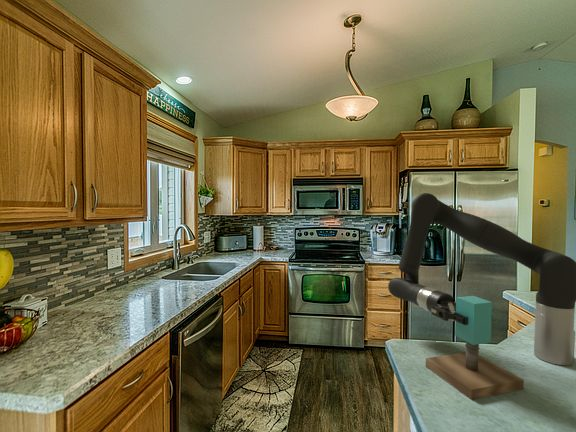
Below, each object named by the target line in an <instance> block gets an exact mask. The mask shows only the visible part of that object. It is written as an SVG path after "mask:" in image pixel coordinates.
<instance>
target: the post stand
mask: <svg viewBox="0 0 576 432" xmlns="http://www.w3.org/2000/svg"><path fill="white" fill-rule="evenodd" d="M479 351H480V344H476V345H472V344H470V343H468V342H466V341H465V351H464V352H457V353H451V354H445V355H444V354H443V355H438V356H432V357H426V358H425V368H427V369H428V370H429V371H431V372H432V373H434V375H435V374H436V375H437V376H438V377H440V378H441V379H442V380H443V381H444V382H446V383H447V384H449V385H450V386H452V387H453V388H455V389H456V390H457V391H458V392H460V393H461V394H463V395H464V396H465V395H466V396H465V397H467V398H468V397H469V398H468V399H469V400H477V399H480V398H487V397H491V396H496V395H500V394H505V393H506V394H507V393H510V392H514V391H519V390H524V381H525V379H524V378H521V377H520V376H518V375H516V374H514V373H512V372H511V371H509V370H507V369H506V368H504V367H502V366H500V365H498V364H496V363H494V362H492V361H491V360H489V359H487V358H485V357H483V356H482V355H480V354H479ZM476 398H477V399H476Z"/></svg>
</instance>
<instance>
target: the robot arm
mask: <svg viewBox="0 0 576 432" xmlns="http://www.w3.org/2000/svg"><path fill="white" fill-rule="evenodd" d="M432 223H434V224H437V225H439V226H441V227H444V228H446V229H448V230H449V231H451V232H452V233H454V234H456V235H457V236H459V237H460V238H462V239H464V240H466V241H467V242H469V243H471V244H473V245H475V246H477V247H479V248H481V249H483V250H484V251H485V250H486V251H487V252H489V253H493V254H495V255H499V256H501V257H505V258H507V259H511V260H513V261H516V262H517V263H519V264H520V265H523V266H524V267H526V268H528V269H530V270H531V271H532V272H534V273H536V274H537V275H539V283H538V285H539V287H538V290H537V292H536V293H535V310H534V311H535V312H534V313H535V314H534V315H535V316H534V317H535V318H534V337H533V339H534V342H533V355H534V356H535V357H536V358H538V359H540V360H542V361H544V362H546V363H550V364H554V365H558V366H571V365H572V364H573V363H574V362H573V361H575V348H576V347H575V342H576V331H575V311H576V308H575V307H576V261H575V260H574V259H573V258H572V257H569V256H567V255H565V254H563V253H560V252H557V251H553V250H550V249H547V248H544V247H542V246H538V245H536V244H534V243H531V242H528V241H527V240H526V239H524V238H522V237H520V236H519V235H517V234H515V233H513V232H511V231H510V230H508V229H506V228H504V227H503V226H501V225H499V224H497V223H494V222H492V221H491V220H487V219H485V218H482V217H480V216H478V215H474V214H472V213H468V212H464V211H461V210H458V209H456V208H453V207H452V206H449V205H448V204H446V203H444V202H443V201H441V200H439V199H438V198H437V197H436V196H435V195H434V194H432V193H429V192H423V193H419V194H417V196H415V197H414V198H413V199H412V203H411V217H410V225H409V230H408V233H407V237H406V239H405V242H404V245H403V249H402V253H401V255H400V256H401V257H400V261H399V263H398V269H399V271H400V272H402V273H404V274H405V278H402V277H394V278H392V279H390V281H389V282H388V284H387V285H388V286H387V287H388V291H389V293H390V294H391V295H392V297H395V298H397V299H401V300H403V301H405V302H406V301H407V302H410V303H413V304H414V305H416V306H418V307H420V308H422V309H424V310H425V311H426V312H428V313H429V312H430V313H431V315H433V316H435V317H437V318H439V319H441V320H443V321H445V322H448V321H449V320H450V321H451V322H456V321H457V322H459V323H461V324H463V325H468V317H466V316H464V315H461V314H459V313H456V299H455V298H454V297H453V296H452V295H451V294H449V293H448V292H444V291H442V290H438V289H436V288H432V287H428V286H425V285H422V284H420V283H419V279H420V278H419V272H420V271H419V270H420V267H421V264H422V259H423V256H424V252H425V245H426V241H427V236H428V233H429V231H430V227H431V224H432Z"/></svg>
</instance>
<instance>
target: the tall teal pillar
mask: <svg viewBox="0 0 576 432" xmlns="http://www.w3.org/2000/svg"><path fill="white" fill-rule="evenodd" d="M455 301H456V313H459V314H461V315H464V316H466V317H468V325H463V324H461V323H459V322H457V321H455V324H454V326H455V327H454V330H455V331H454V337H457V338H459V339H461V340H463V341H465V343H466V342H468V343H470V344H472V345H476V344H479V345H482V344H489V343H492V323H493V315H492V314H493V313H492V312H493V302H492V301H489V300H487V299H484V298H481V297H479V296H476V295H466V296H457V297H455Z"/></svg>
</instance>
